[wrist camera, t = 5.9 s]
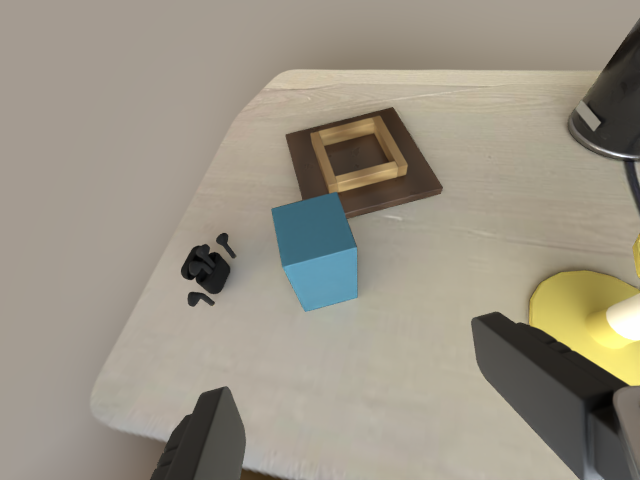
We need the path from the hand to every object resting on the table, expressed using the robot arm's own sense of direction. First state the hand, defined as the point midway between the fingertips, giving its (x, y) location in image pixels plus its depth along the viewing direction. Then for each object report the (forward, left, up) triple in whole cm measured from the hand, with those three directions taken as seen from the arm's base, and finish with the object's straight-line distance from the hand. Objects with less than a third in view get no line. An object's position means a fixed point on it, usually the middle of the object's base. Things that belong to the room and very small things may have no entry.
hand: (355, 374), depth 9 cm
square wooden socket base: (-7, -23, -15) cm, 28 cm away
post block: (0, -10, -15) cm, 18 cm away
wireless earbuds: (+10, -13, -15) cm, 22 cm away
